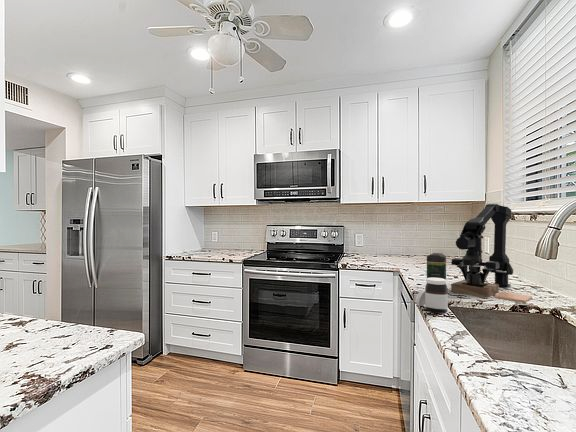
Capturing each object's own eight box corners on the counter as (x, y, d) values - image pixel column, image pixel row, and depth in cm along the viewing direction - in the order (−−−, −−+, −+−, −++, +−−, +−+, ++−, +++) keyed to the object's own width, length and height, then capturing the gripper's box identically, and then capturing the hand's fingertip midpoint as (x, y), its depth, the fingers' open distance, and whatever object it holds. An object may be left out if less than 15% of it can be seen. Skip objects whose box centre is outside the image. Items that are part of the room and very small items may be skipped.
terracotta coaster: (502, 293, 144) (502, 291, 144) (532, 298, 136) (532, 296, 136) (494, 297, 137) (494, 295, 137) (525, 302, 129) (525, 300, 129)
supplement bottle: (479, 290, 151) (478, 264, 151) (486, 293, 144) (486, 267, 144) (463, 289, 152) (463, 264, 152) (470, 293, 145) (470, 267, 145)
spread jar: (447, 315, 114) (446, 282, 114) (413, 310, 119) (413, 279, 119) (448, 306, 124) (448, 276, 124) (417, 303, 130) (417, 274, 130)
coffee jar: (444, 297, 138) (444, 254, 138) (425, 295, 143) (424, 253, 143) (447, 292, 146) (447, 252, 146) (429, 290, 151) (428, 251, 151)
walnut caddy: (464, 286, 159) (463, 279, 159) (498, 291, 147) (498, 284, 147) (451, 291, 149) (451, 284, 149) (487, 297, 137) (487, 289, 137)
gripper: (446, 248, 150) (446, 281, 150) (491, 251, 136) (491, 287, 136) (456, 246, 157) (456, 278, 157) (499, 249, 143) (500, 284, 143)
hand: (474, 281), depth 148 cm, fingers closed on supplement bottle, 7 cm apart
